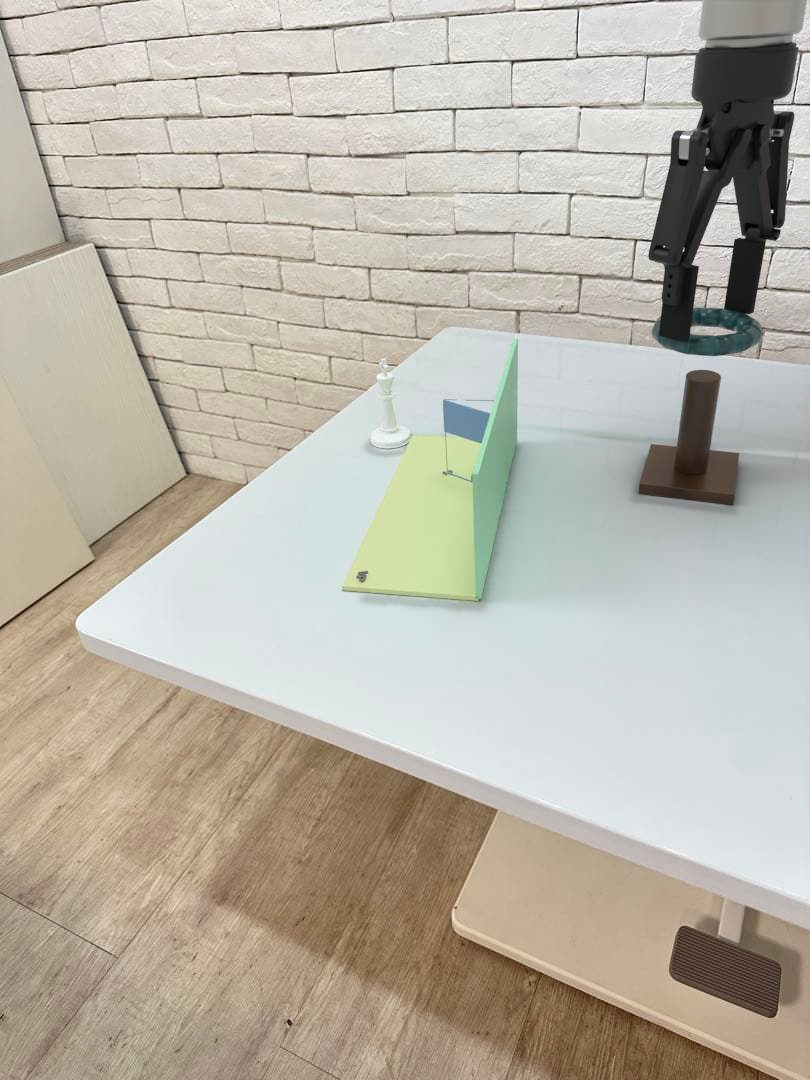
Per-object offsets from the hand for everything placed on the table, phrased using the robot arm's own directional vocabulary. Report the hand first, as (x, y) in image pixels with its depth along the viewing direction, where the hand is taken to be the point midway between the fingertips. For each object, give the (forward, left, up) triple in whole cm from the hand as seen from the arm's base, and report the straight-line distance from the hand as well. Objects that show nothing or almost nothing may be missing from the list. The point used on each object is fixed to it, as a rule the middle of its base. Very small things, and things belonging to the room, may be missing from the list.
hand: (707, 323), depth 74 cm
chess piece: (+34, 0, -16) cm, 37 cm away
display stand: (+23, +13, -16) cm, 31 cm away
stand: (0, +1, -16) cm, 16 cm away
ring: (0, 0, -1) cm, 1 cm away
